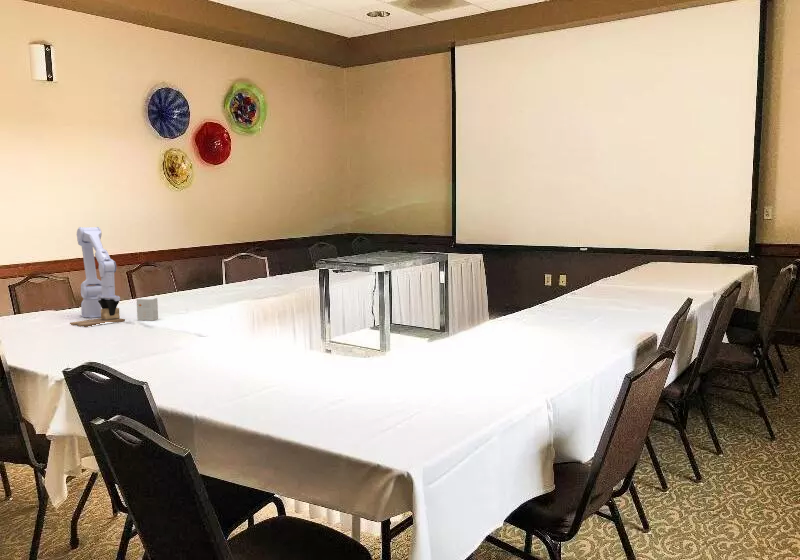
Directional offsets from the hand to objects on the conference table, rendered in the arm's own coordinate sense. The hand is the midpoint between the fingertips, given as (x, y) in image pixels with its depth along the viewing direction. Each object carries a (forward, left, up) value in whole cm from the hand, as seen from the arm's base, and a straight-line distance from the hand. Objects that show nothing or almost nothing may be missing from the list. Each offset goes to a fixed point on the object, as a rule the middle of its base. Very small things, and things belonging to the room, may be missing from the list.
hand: (109, 314), depth 310 cm
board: (0, -6, -3) cm, 7 cm away
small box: (+11, +13, -3) cm, 17 cm away
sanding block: (0, +1, -2) cm, 2 cm away
